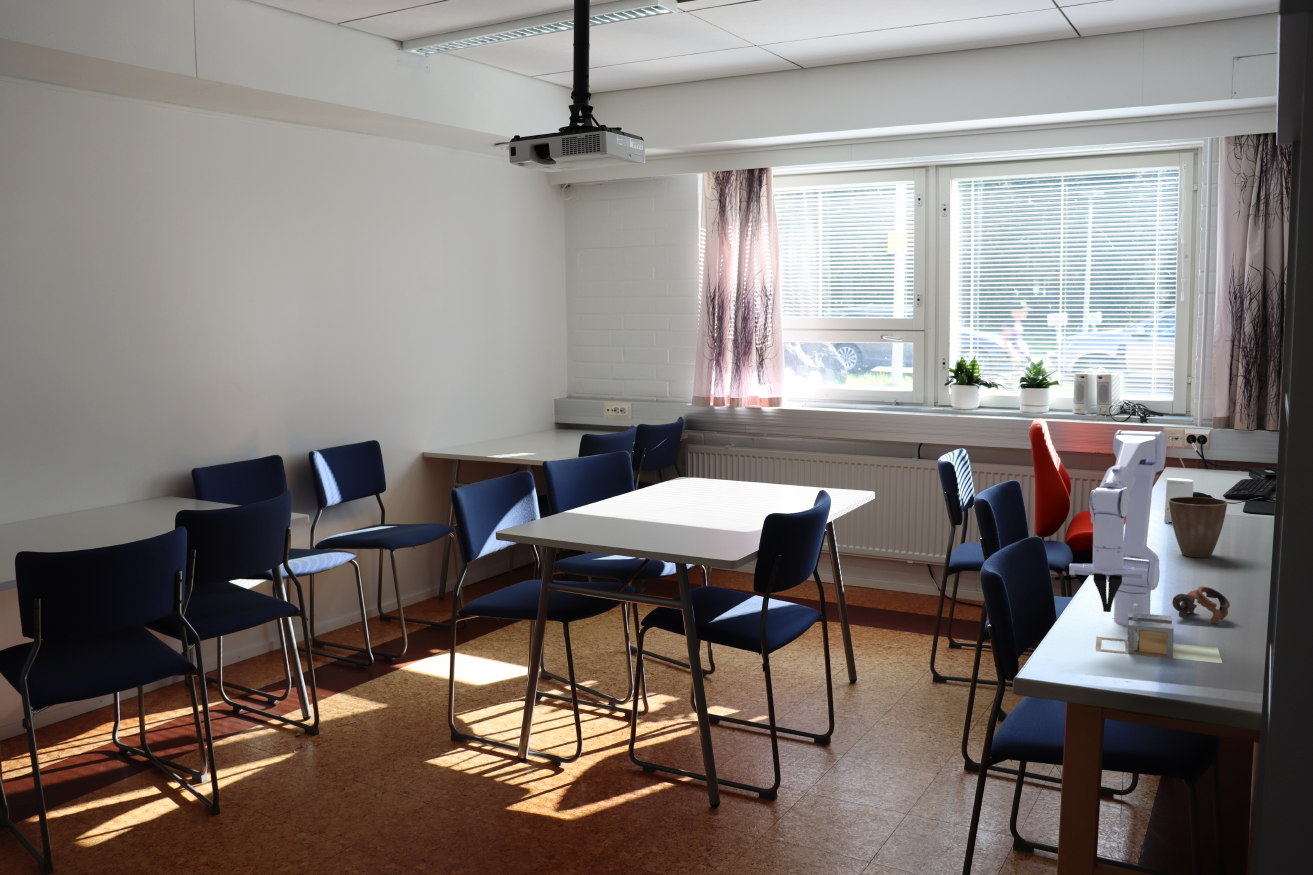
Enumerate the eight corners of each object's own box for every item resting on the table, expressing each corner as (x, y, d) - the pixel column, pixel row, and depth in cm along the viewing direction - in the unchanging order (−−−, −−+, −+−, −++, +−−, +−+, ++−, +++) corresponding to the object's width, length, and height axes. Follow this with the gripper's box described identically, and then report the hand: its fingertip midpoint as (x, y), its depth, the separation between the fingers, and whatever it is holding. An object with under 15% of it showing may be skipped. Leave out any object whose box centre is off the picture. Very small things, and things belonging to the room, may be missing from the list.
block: (1138, 643, 204) (1138, 623, 204) (1165, 646, 202) (1166, 625, 202) (1139, 651, 200) (1139, 629, 199) (1166, 653, 198) (1167, 632, 197)
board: (1096, 643, 210) (1096, 636, 210) (1217, 654, 201) (1217, 647, 200) (1095, 657, 201) (1095, 650, 201) (1222, 670, 192) (1222, 662, 191)
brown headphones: (1200, 612, 232) (1219, 586, 228) (1221, 640, 224) (1242, 613, 220) (1156, 603, 230) (1175, 576, 226) (1176, 631, 222) (1196, 604, 218)
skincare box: (1164, 523, 332) (1165, 479, 331) (1164, 520, 338) (1165, 477, 336) (1192, 524, 328) (1193, 480, 327) (1192, 521, 334) (1193, 478, 332)
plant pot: (1158, 549, 294) (1159, 496, 292) (1209, 548, 293) (1210, 495, 292) (1182, 561, 279) (1184, 505, 277) (1236, 560, 278) (1238, 504, 277)
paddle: (1132, 641, 205) (1133, 600, 204) (1136, 641, 205) (1137, 600, 204) (1133, 649, 200) (1133, 607, 199) (1137, 650, 199) (1138, 608, 199)
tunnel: (1127, 639, 207) (1128, 612, 207) (1170, 643, 204) (1171, 615, 203) (1128, 653, 199) (1128, 624, 198) (1173, 657, 195) (1173, 628, 195)
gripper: (1069, 547, 202) (1068, 612, 203) (1148, 552, 196) (1146, 619, 197) (1070, 540, 208) (1069, 603, 210) (1147, 545, 202) (1145, 609, 204)
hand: (1107, 610), depth 204 cm, fingers closed
